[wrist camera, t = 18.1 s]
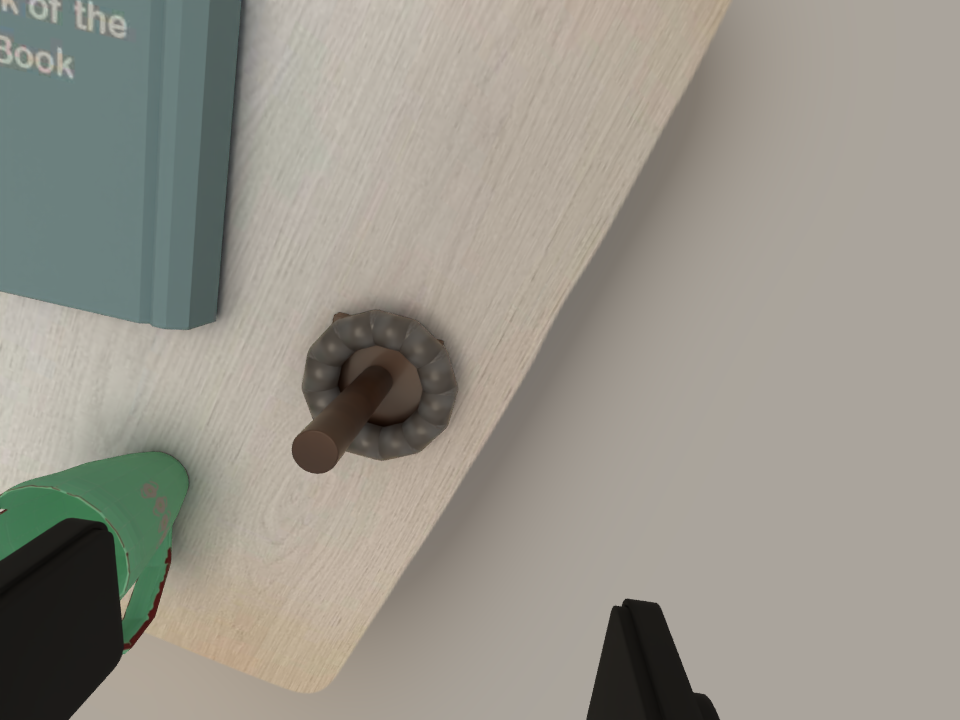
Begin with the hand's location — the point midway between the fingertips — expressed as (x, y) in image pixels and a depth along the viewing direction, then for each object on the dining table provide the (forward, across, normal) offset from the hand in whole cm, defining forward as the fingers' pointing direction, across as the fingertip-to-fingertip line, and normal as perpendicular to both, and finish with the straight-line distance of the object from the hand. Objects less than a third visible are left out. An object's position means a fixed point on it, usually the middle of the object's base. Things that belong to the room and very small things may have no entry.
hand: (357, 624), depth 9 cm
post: (+28, +7, +5) cm, 29 cm away
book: (+28, +26, -10) cm, 39 cm away
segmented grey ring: (+26, +6, +5) cm, 27 cm away
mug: (+28, +24, +18) cm, 41 cm away
